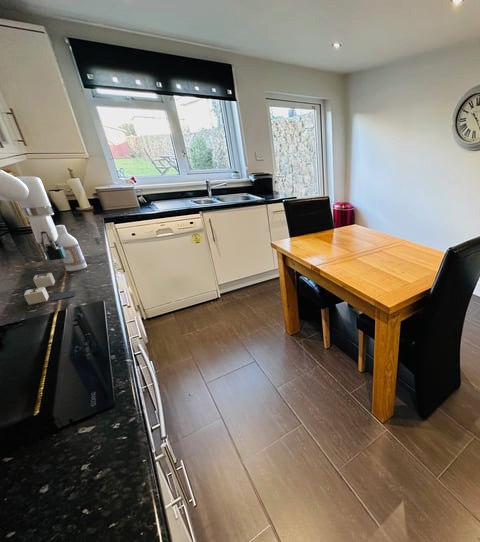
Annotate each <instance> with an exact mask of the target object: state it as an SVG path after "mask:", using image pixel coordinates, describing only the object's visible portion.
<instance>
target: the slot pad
mask: <svg viewBox="0 0 480 542" xmlns="http://www.w3.org/2000/svg"><path fill="white" fill-rule="evenodd" d="M76 292H77V290H75V289H73V290H69V291H64V292H58V293H54V294H53V295H52V298H51V302H54V301H58V300H59V301H60V300H63V299H64V300H65V299H68V298H73V297H75V296H76Z"/></svg>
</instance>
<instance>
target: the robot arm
mask: <svg viewBox="0 0 480 542" xmlns="http://www.w3.org/2000/svg"><path fill="white" fill-rule="evenodd" d="M0 201H5V202H18V205H19V207H20V209H21V212H22V213H23V216H24V218H28V222H29V224H30V228H31V230H32V233H33V236H34V238H35V241H36V243H37V244H42V243H43V245H44V250H45V249H46V252H47V254H48V256H49V259H50V261H55V260H56V261H57V260H62V259H61V258H62V257H61V255H60V252H59V250H58V249H57V248H56V247H59V246H58V245H59V243H58V241H57V238H58V233H57V230H56V228H55V226H56V224H55V223H54V220H53V218H52V216H54V215H55V213H54V210H53V208H52V207H53V206H52V205H51V202H50V199H49V197H48V194H47V192H46V189H45V187H44V183H43V182H42V180H41V179H40V178H39V177H37V176H31V175H28V176H27V175H22V176H21V175H20V176H19V175H18V176H14V175H12V174H9V173H8V172H6V171H4V170H2V169H0Z"/></svg>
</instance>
